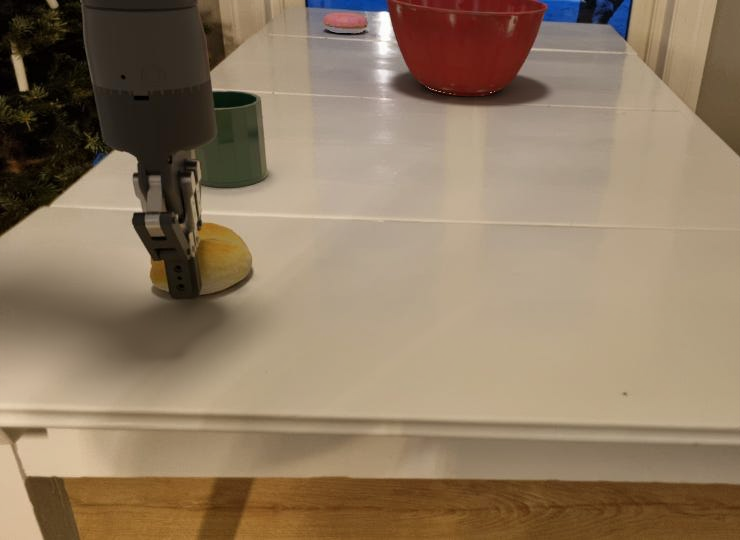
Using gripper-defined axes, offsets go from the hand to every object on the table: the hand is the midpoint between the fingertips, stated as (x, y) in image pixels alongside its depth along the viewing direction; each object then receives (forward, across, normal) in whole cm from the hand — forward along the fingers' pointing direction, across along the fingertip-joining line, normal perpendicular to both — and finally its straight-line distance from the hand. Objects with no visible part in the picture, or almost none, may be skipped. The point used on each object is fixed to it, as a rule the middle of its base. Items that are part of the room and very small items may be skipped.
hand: (186, 294), depth 57 cm
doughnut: (0, -134, +15) cm, 134 cm away
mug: (+1, -32, -2) cm, 32 cm away
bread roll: (+1, -6, 0) cm, 6 cm away
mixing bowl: (+1, -76, +35) cm, 84 cm away
